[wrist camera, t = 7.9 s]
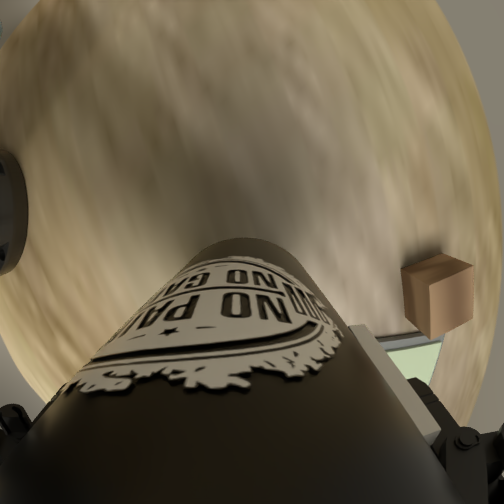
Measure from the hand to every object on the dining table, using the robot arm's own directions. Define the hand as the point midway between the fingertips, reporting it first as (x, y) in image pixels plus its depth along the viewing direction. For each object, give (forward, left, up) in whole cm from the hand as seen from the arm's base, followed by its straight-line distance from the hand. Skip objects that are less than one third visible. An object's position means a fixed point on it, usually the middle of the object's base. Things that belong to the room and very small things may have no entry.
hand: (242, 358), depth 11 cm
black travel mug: (0, 0, -6) cm, 6 cm away
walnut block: (+16, -1, -12) cm, 20 cm away
